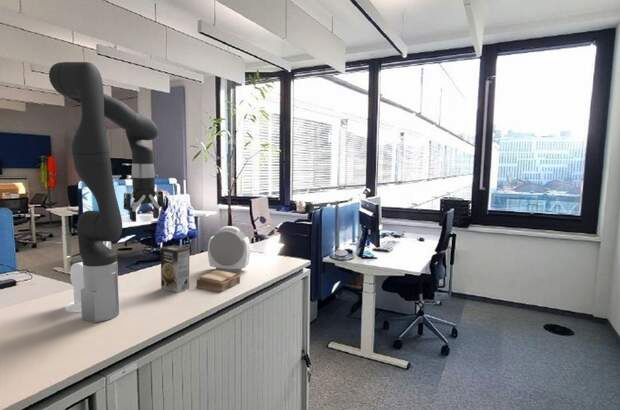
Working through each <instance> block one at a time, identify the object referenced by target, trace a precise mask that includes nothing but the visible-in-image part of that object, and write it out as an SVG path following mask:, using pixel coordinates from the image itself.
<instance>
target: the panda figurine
mask: <svg viewBox="0 0 620 410" xmlns="http://www.w3.org/2000/svg"><path fill="white" fill-rule="evenodd" d="M69 265H70V266H71V267H70V273H69V275H70V277H69V278H70V281H71V284H72V286H73V301H71V302H69V303H68V304H66V306H65V307H64V310H65V311H66V312H67V313H82V308H81V289H83V288H84V280H83V260H82V258H78V259H74V260H73V259H72V260H70V262H69Z"/></svg>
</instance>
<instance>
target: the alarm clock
mask: <svg viewBox="0 0 620 410" xmlns="http://www.w3.org/2000/svg"><path fill="white" fill-rule="evenodd" d="M250 255H251V241H250V239H249V236H246V234H245V233H244V232H243V231H242V230H240V228H238V227H237V226H232V225H228V226H227V225H226V226H223V227H221V228H219V229H218V231H217V232H216V233H215V234H214V235H213V236H211V237H210V238H209V240H208V244H207V258H208V262H209V263H208V264H209V267H213V268H215V270H219V271H225V272H231V273H236V274H239V273H240V272H241V271H242V270H243V269H245V268H247V267H248V265H249V262H250Z"/></svg>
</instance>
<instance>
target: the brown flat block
mask: <svg viewBox="0 0 620 410" xmlns="http://www.w3.org/2000/svg"><path fill="white" fill-rule="evenodd" d="M238 283H239V284H240V283H241V276H240V275H238V273H233V272H225V271H219V270H216V269H215V270H212V271H211V272H208V273H205V274H202V275H201V276H199V278H198V279H196V288H199V289H205V290H210V291H215V292H219V293H223V292H225V291H226V290H228V289H231V288H233V287H235V286H236V284H237V285H239V284H238Z"/></svg>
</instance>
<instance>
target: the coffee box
mask: <svg viewBox="0 0 620 410" xmlns="http://www.w3.org/2000/svg"><path fill="white" fill-rule="evenodd" d="M159 249H160V278H161V279H160V286H161V287H160V288H161V289H162V290H167V291H168V292H173V293H177V294H178V293H181V292H185V291H186V290H190V261H191V260H190V257H191V256H190V251H191V249H190V248H188V247H183V246H179V245H174V244H173V245H168V246H163V247H160V248H159Z"/></svg>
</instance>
